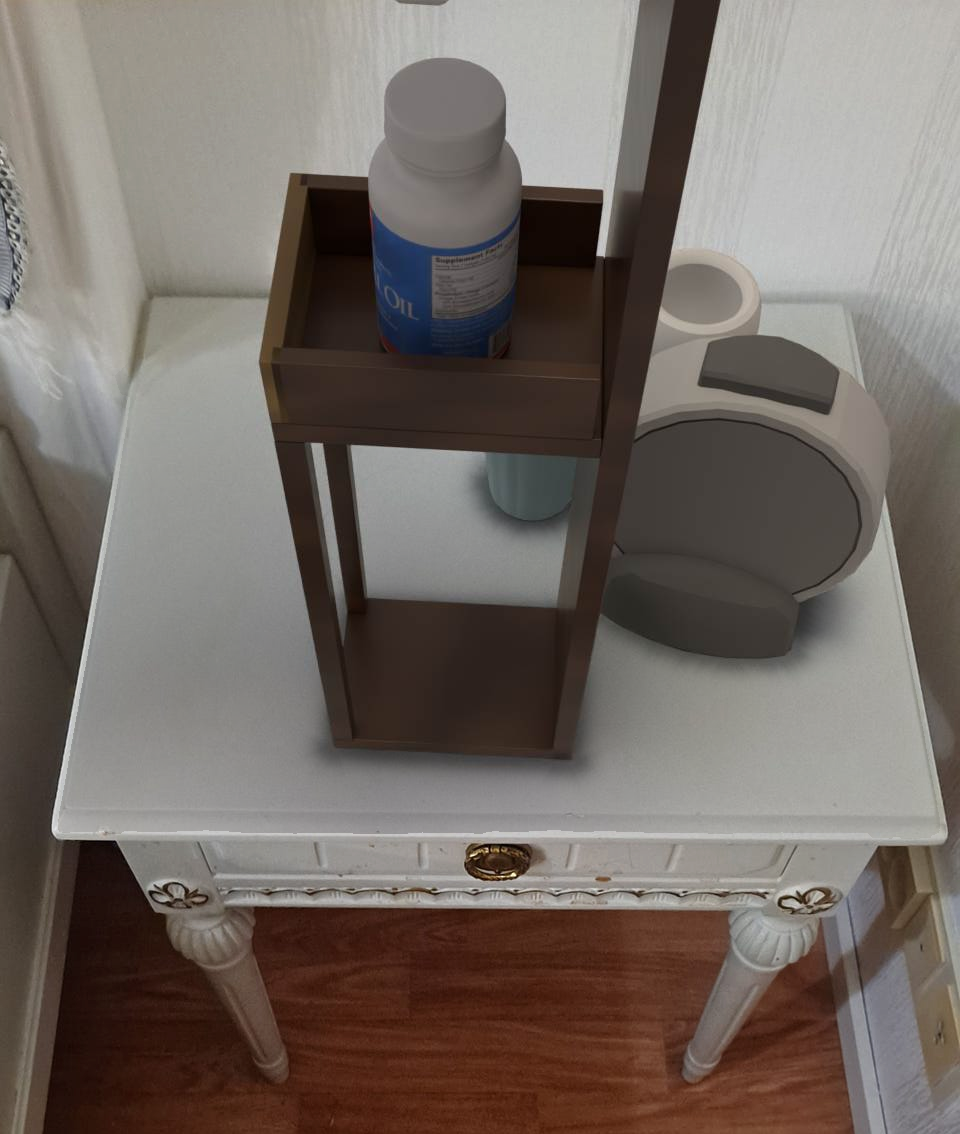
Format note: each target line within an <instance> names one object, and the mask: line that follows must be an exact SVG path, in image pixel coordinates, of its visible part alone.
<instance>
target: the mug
mask: <svg viewBox="0 0 960 1134" xmlns="http://www.w3.org/2000/svg"><path fill="white" fill-rule="evenodd" d="M758 285H759V284H758V282H757V280H756V279H755V276H754V275H753V273H752V272H751V271H750V270H749V269H748V268H747V267H746V266H745V265H744V264H743V263H741V261H738V260H737V259H735V258H734V257H732V256H730V255H728V254H725V253H724V252H721V251H717V250H714V249H709V248H701V247H690V248H689V247H688V248H681V249H676V250H672V251H671V256H670V261H669V266H668V271H667V276H666V281H665V286H664V291H663V297H662V302H661V307H660V312H659V317H658V322H657V327H656V332H655V337H654V342H653V347H652V352H651V357H650V358H652V357H653V356H655V355H656V354H658V353H659V352H661V351H664V350H667V349H670V348H673V347H676V346H678V345H681V344H684V343H687V342H690V341H693V340H696V339H705V338H715V337H724V336H733V335H739V336H742V335H758V333H759V329H760V322H761V316H762V308H763V307H762V298H761V293H760V289H759V286H758Z"/></svg>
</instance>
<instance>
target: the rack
mask: <svg viewBox="0 0 960 1134" xmlns="http://www.w3.org/2000/svg"><path fill="white" fill-rule="evenodd" d="M721 1H722V0H639V3H638V11H637V18H636V25H635V32H634V40H633V47H632V55H631V62H630V68H629V76H628V83H627V91H626V99H625V106H624V113H623V118H622V119H623V120H622V127H621V135H620V140H619V141H620V142H619V149H618V155H617V164H616V171H615V179H614V185H613V193H612V201H611V206H610V207H611V208H610V214H609V222H608V228H607V229H608V230H607V236H606V243H605V250H604V251H605V252H604V256H603V255H598V249H599V248H598V247H599V241H600V239H599V238H600V231H601V224H602V218H603V217H602V215H603V208H604V190H603V189H599V188H598V189H597V188H581V187H580V188H579V187H562V186H545V185H544V186H543V185H528V184H527V185H524V184H522V196H521V212H520V226H519V241H518V257H517V272H516V289H515V305H514V319H513V329H512V334H511V338H510V341H509V344H508V346H507V348H506V350H505V352H504V353H503V355H502V356H501V357H500V358H499V359H491V358H472V357H454V356H435V355H416V354H398V353H387V351H386V349H385V348H384V346H383V343H382V341H381V338H380V334H379V328H378V320H377V305H376V291H375V276H374V262H373V247H372V231H371V218H370V205H369V189H368V176H357V175H339V174H338V175H337V174H320V173H319V174H318V173H305V172H304V173H302V172H290V173H289V176H288V177H289V178H288V184H287V188H286V195H285V201H284V207H283V213H282V220H281V224H280V225H281V226H280V231H279V237H278V244H277V249H276V256H275V262H274V267H273V274H272V278H271V279H272V280H271V286H270V292H269V298H268V302H267V303H268V304H267V308H266V315H265V321H264V326H263V327H264V328H263V333H262V338H261V345H260V351H259V357H258V367H259V371H260V376H261V381H262V386H263V392H264V396H265V402H266V407H267V412H268V416H269V417H268V418H269V422H270V427H271V432H272V436H273V442H274V447H275V452H276V458H277V463H278V468H279V473H280V478H281V484H282V488H283V494H284V498H285V499H284V500H285V505H286V508H287V514H288V519H289V524H290V530H291V534H292V539H293V545H294V550H295V553H296V554H295V556H296V560H297V566H298V571H299V576H300V581H301V585H302V591H303V596H304V601H305V606H306V611H307V616H308V620H309V626H310V630H311V637H312V641H313V646H314V651H315V656H316V662H317V667H318V673H319V676H320V683H321V688H322V692H323V698H324V704H325V708H326V713H327V718H328V723H329V728H330V734H331V738H332V744H333V747H335V748H349V749H350V748H351V749H365V750H384V751H385V750H388V751H406V752H423V753H440V754H459V755H461V754H462V755H477V756H478V755H479V756H497V757H512V758H513V757H514V758H516V757H517V758H531V759H532V758H534V759H551V760H569V761H570V760H572V758H573V754H574V748H575V742H576V737H577V733H578V727H579V723H580V719H581V713H582V708H583V702H584V697H585V692H586V686H587V683H588V677H589V671H590V667H591V662H592V657H593V651H594V647H595V641H596V635H597V631H598V625H599V621H600V616H601V612H600V611H601V606H602V601H603V596H604V591H605V586H606V581H607V576H608V571H609V566H610V560H611V555H612V550H613V545H614V540H615V535H616V530H617V525H618V520H619V515H620V510H621V505H622V500H623V494H624V489H625V484H626V479H627V474H628V469H629V464H630V459H631V454H632V449H633V444H634V439H635V434H636V428H637V423H638V418H639V413H640V408H641V403H642V398H643V393H644V388H645V383H646V378H647V373H648V368H649V363H650V357H651V352H652V347H653V342H654V337H655V332H656V327H657V322H658V317H659V312H660V307H661V302H662V297H663V291H664V286H665V281H666V276H667V271H668V266H669V261H670V256H671V252H672V251H673V245H674V241H675V236H676V235H675V234H676V230H677V225H678V219H679V216H680V215H679V214H680V211H681V205H682V201H683V194H684V189H685V186H686V185H685V184H686V179H687V174H688V169H689V163H690V160H691V159H690V158H691V154H692V149H693V144H694V139H695V134H696V129H697V125H698V119H699V113H700V108H701V105H702V98H703V93H704V88H705V83H706V77H707V73H708V68H709V63H710V58H711V54H712V53H711V52H712V48H713V43H714V36H715V32H716V27H717V22H718V17H719V13H720V12H719V11H720V6H721ZM312 444H322V447H323V448H322V449H323V455H324V462H325V463H324V464H325V470H326V476H327V477H326V478H327V483H328V491H329V496H330V504H331V510H332V518H333V525H334V532H335V539H336V546H337V552H338V554H337V555H338V560H339V567H340V574H341V580H342V588H343V595H344V601H345V610H346V618H345V625H344V634H343V635H344V636H343V638H342V632H341V626H340V625H341V624H340V619H339V614H338V607H337V599H336V595H335V593H336V592H335V587H334V582H333V581H334V580H333V577H332V576H333V574H332V568H331V562H330V557H329V550H328V543H327V535H326V530H325V523H324V518H323V510H322V505H321V497H320V492H319V484H318V478H317V472H316V465H315V460H314V453H313V448H312V447H313V446H312ZM352 446H363V447H381V448H400V449H418V450H419V449H420V450H436V451H455V452H472V453H473V452H475V453H485V452H491V453H509V454H528V455H547V456H565V457H577V462H576V469H575V476H574V484H573V491H572V498H571V500H570V506H569V512H568V513H569V514H568V520H567V528H566V535H565V543H564V550H563V556H562V557H563V558H562V564H561V565H562V566H561V572H560V579H559V586H558V593H557V601H556V607H546V606H525V605H508V604H492V603H491V604H490V603H471V602H470V603H469V602H452V601H434V600H433V601H432V600H417V599H416V600H415V599H397V598H381V597H380V598H376V597H369V596H368V595H369V594H368V586H367V578H366V568H365V560H364V552H363V551H364V550H363V541H362V534H361V524H360V516H359V508H358V507H359V506H358V498H357V491H356V480H355V479H356V478H355V471H354V462H353V454H352Z"/></svg>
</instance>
